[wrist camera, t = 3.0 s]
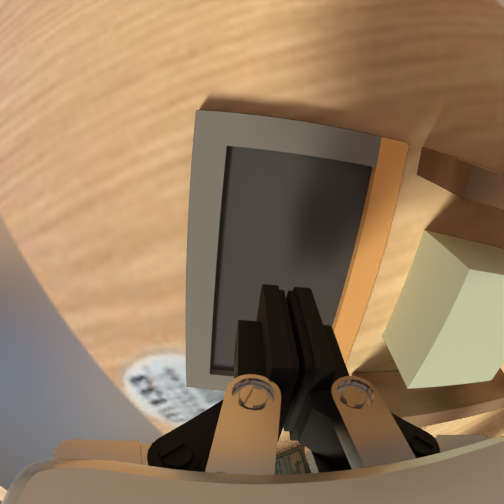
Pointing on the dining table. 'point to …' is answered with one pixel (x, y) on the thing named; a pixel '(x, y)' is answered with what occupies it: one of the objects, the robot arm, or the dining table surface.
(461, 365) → the block
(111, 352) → the dining table surface
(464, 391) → the brown parallel walls
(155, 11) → the dining table surface
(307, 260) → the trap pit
